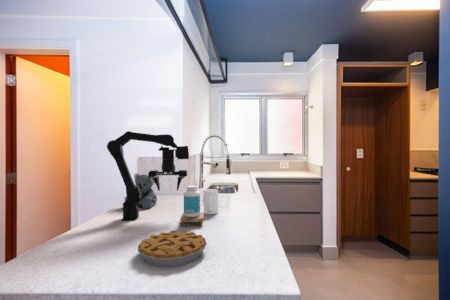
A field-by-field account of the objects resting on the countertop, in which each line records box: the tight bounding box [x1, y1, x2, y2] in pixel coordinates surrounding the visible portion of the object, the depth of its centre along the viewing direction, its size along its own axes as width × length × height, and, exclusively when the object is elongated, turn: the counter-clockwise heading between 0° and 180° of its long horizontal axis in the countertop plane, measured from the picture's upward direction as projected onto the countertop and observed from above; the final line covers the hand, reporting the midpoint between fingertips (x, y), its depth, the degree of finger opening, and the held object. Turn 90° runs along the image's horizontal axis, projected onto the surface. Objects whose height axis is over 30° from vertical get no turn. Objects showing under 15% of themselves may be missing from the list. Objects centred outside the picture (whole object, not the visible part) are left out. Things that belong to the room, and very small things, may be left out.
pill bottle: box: [183, 185, 201, 217], centre depth 118 cm, size 8×7×14 cm
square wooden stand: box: [179, 212, 205, 227], centre depth 118 cm, size 10×10×4 cm
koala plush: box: [124, 173, 158, 209], centre depth 156 cm, size 17×18×20 cm
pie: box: [137, 230, 208, 268], centre depth 85 cm, size 22×22×5 cm
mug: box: [202, 188, 219, 215], centre depth 136 cm, size 8×12×12 cm
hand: (168, 190), depth 131 cm, fingers open, 9 cm apart
